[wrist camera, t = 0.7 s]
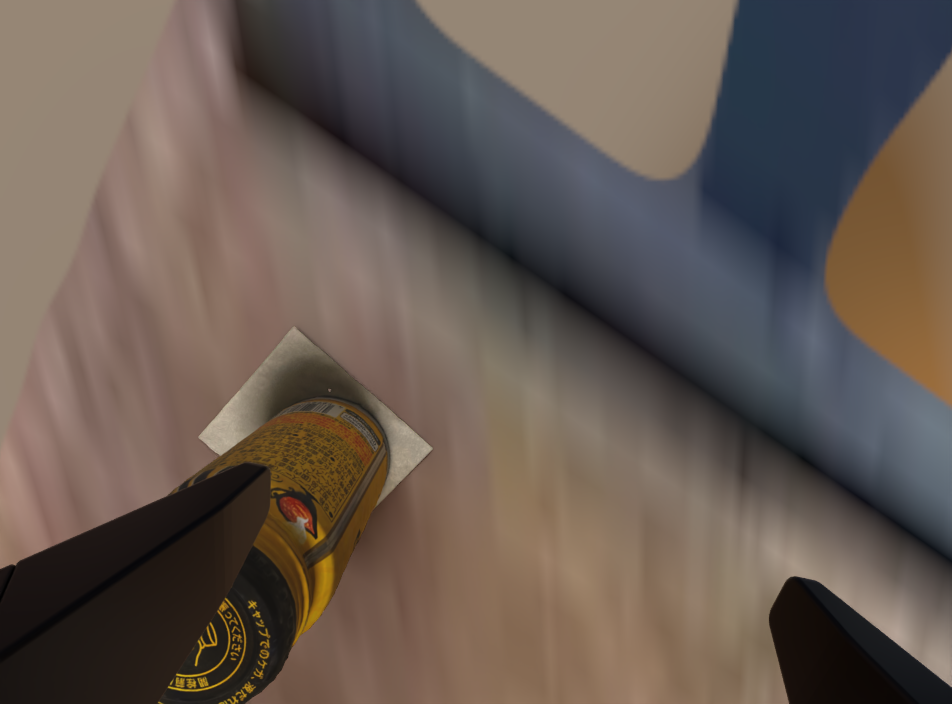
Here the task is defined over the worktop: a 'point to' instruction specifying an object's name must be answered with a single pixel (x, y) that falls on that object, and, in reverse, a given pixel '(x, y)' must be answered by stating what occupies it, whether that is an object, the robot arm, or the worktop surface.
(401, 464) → the condiment
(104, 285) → the worktop surface
